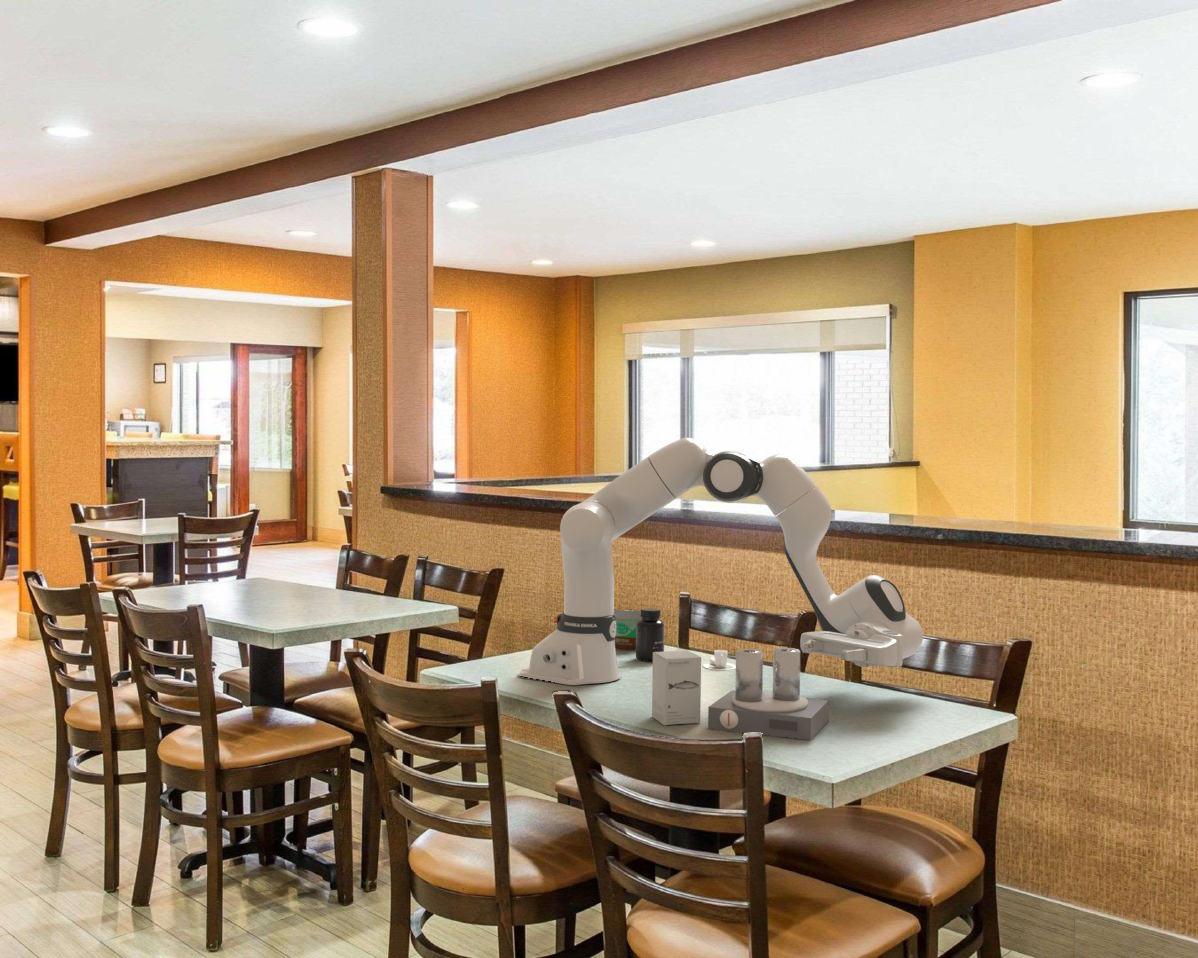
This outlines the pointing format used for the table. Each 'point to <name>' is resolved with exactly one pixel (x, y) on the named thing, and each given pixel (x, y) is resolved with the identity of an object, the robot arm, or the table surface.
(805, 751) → the table surface
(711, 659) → the teacup and saucer
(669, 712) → the supplement box
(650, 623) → the supplement bottle
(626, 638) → the food container
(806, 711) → the dial scale
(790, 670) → the cylinder
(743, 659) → the cylinder
